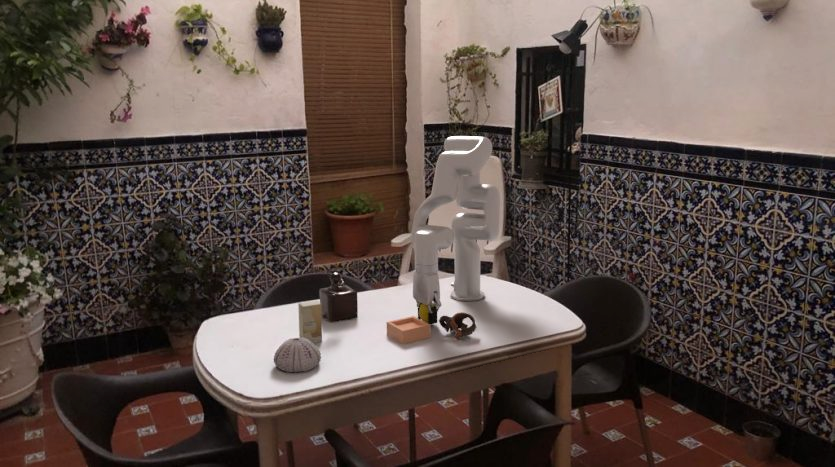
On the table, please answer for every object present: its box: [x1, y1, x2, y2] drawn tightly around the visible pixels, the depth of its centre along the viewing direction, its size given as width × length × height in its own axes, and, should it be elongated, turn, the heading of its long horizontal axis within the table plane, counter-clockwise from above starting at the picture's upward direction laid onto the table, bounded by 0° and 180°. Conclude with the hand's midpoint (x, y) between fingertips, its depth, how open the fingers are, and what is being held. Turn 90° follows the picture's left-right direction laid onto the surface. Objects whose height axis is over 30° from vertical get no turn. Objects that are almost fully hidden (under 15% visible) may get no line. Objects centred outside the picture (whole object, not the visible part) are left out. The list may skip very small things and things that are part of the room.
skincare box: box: [297, 300, 323, 343], centre depth 211 cm, size 6×4×12 cm
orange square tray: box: [386, 315, 431, 345], centre depth 214 cm, size 10×10×4 cm
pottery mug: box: [438, 312, 477, 341], centre depth 214 cm, size 12×10×8 cm
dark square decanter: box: [318, 269, 359, 323], centre depth 231 cm, size 16×11×18 cm
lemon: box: [419, 303, 434, 323], centre depth 225 cm, size 6×6×8 cm
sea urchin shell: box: [273, 337, 322, 373], centre depth 193 cm, size 13×14×8 cm
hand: (427, 320), depth 225 cm, fingers closed on lemon, 5 cm apart
